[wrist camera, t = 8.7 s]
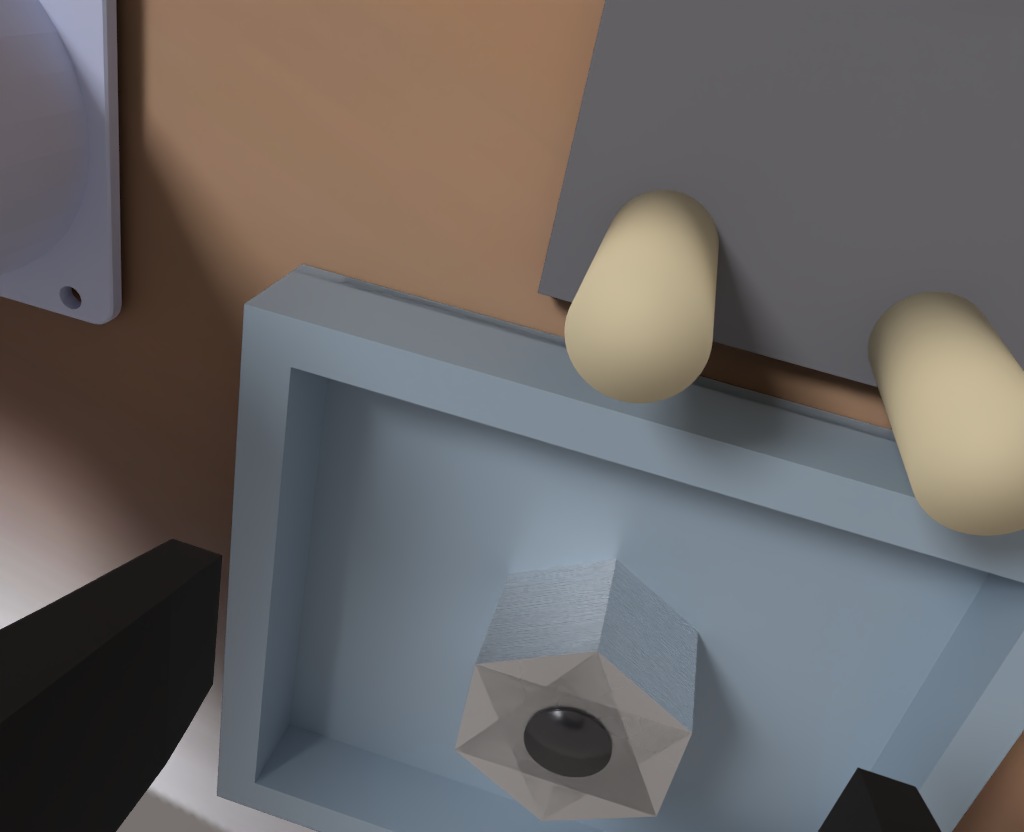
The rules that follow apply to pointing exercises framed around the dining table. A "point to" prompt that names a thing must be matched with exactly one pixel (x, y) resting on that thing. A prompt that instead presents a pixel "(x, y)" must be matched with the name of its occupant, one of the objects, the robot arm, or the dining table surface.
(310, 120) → the dining table surface
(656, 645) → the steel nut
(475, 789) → the tray
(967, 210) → the spacer field
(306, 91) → the dining table surface
